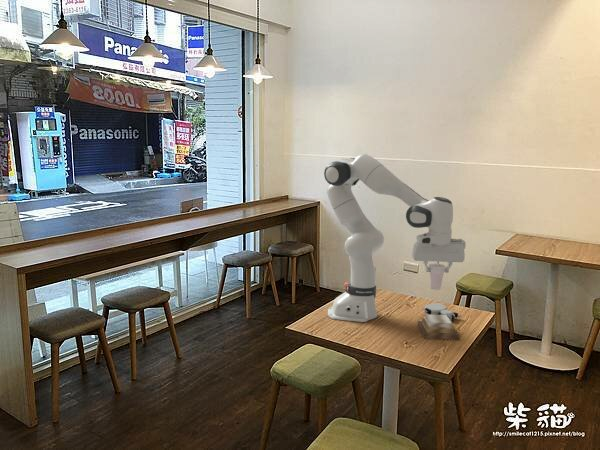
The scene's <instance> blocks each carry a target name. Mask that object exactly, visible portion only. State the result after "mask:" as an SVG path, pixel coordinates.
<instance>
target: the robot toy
mask: <svg viewBox="0 0 600 450" xmlns="http://www.w3.org/2000/svg"><path fill="white" fill-rule="evenodd" d="M420 309H422V310H423V311H424V312H425V314H426V315H447V317H448V318H449V319H450V321H451V322H452V321H454V320H455V318H462V315H461V314H459V313H458V312H453V311H451V310H449V309H448V307H447V305H444V304H443V303H441V302H433V303H432V302H431V303H429V304H426V305H425V306H424V307H423V306H420Z"/></svg>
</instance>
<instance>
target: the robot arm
mask: <svg viewBox="0 0 600 450" xmlns="http://www.w3.org/2000/svg"><path fill="white" fill-rule="evenodd" d="M323 175H324V176H323V177H324V180H325V181H326V182H327V183H328V184H329V186H328V187H327V189H326V193H327V198H328V200H329V204H330V205H331V207H332V210H333V212H334V213H335V215H336V217H337V219H338V221H339V223H340V225H341V226H342V227H343V228H345V229H346V230H347V231H348V232H349V233H350V234H351V235H350V236H348V237H347V238H346V239H345V241H344V247H343V249H344V251H345V253H346V254H347V256H348V259H349V263H350V283H349V282H345V283H344V288H345V291H344V292H343V293H341V294H340V295H338V296H337V297H335V298H334V300H333V304H332V306H330V307H329V308H328V309H327V316H328V318H330V319H332V320H341V321H349V322H359V323H360V322H361V323H366V322H368V321H370V320H374V319H375V318H377V317H378V312H377V307H376V295H377V284H376V278H377V277H376V274H377V268H376V267H375V265H374V262H373V253H376V252H377V251H379V249H381V248H382V246H383V245H384V241H385V238H384V234H383V233H382V231H380V230H379V229H377V228H376V227H375V226H374V225H373V223H371V221H370V220H369V219H368V218H367V216H366V215H365V213H364V211H363V210H362V208H361V207H360V205H359V203H358V201H357V199H356V197H355V194H354V193H353V190H352V186H353V187H354V186H355V185H357V183H359V181H361V182H362V183H363V184H364V186H366V187H367V188H368V189H370V190H371V191H372V192H374V193H375V194H377V195H384V196H385V195H386V196H392V197H395V198H396V199H397V198H398V199H400V200H401V201H402V202H404V204H406V205H407V206H409V207H408V209H407V210H406V212H405V219H406V221H407V223H408V225H409V226H410V227H412V228H416V229H421V228H427V229H428V232H425V233H421V234H418V235H416V241H415V243H414V245H413V248H412V252H411V257H412V259H413V261H415V262H423V265H424V266H425V273H430V268H429V262H439V263H440V262H443V263H447V266H445V269H444V273H447V274H448V273H449V271H450V269H451V267H452V266H453V263H463V262H464V261H465V255H466V254H465V249H466V243H467V242H466V241H465V240H463V239H462V238H452V235H453V234H452V231H453V229H452V223H453V222H454V221H453V220H454V206H453V203H452V201H451V200H450V199H448V198H446V197H442V196H441V197H440V196H434V197H432V198H431V199H427V198H424V197H423V196H421V194H419V193H418V192H416V191H415V190H414V189H412V188H411V187H410V186H408V185H407V184H406V183H404V181H402V180H401V179H399V178H398V177H397V176H396V175H395V174H394V173H393V172H392V171H390V169H388V167H386V166H385V165H384V164H383V163H381V161H379V160H378V159H376V158H374V157H373V156H371V155H369V154H367V153H361V154H359V155H357V156H356V157H350V158H342V159H340V160H339V159H338V160H336V161H333V162H330V163H328V164H327V165H326V167H324V171H323Z"/></svg>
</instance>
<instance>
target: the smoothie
mask: <svg viewBox="0 0 600 450" xmlns="http://www.w3.org/2000/svg"><path fill="white" fill-rule="evenodd" d="M436 262H437V261H436ZM436 262H435V263H434V262H433V263H428V267H429V268H430V272H429V276H430V277H429V278H430V289H431V290H435V291H439V290H441V288H442V283H443V278H444V273H445V272H444V269H445V267H446V264H443V263H440V262H437V263H436Z"/></svg>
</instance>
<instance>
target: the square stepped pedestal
mask: <svg viewBox="0 0 600 450" xmlns="http://www.w3.org/2000/svg"><path fill="white" fill-rule="evenodd" d="M416 326H417V328H418V329H419V331H420V333H421V335H422V337H423V339H427V340H431V339H433V340H455V341H456V340H458V341H459V340H460V334H459V332H458V331H457V329H456V328H455V327H454V325H453V322H452V320H451V321H450V319H449V318H448V317H447V315H428V314H427V313H425V314H424V317H422V318H421V320H417V321H416Z"/></svg>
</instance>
